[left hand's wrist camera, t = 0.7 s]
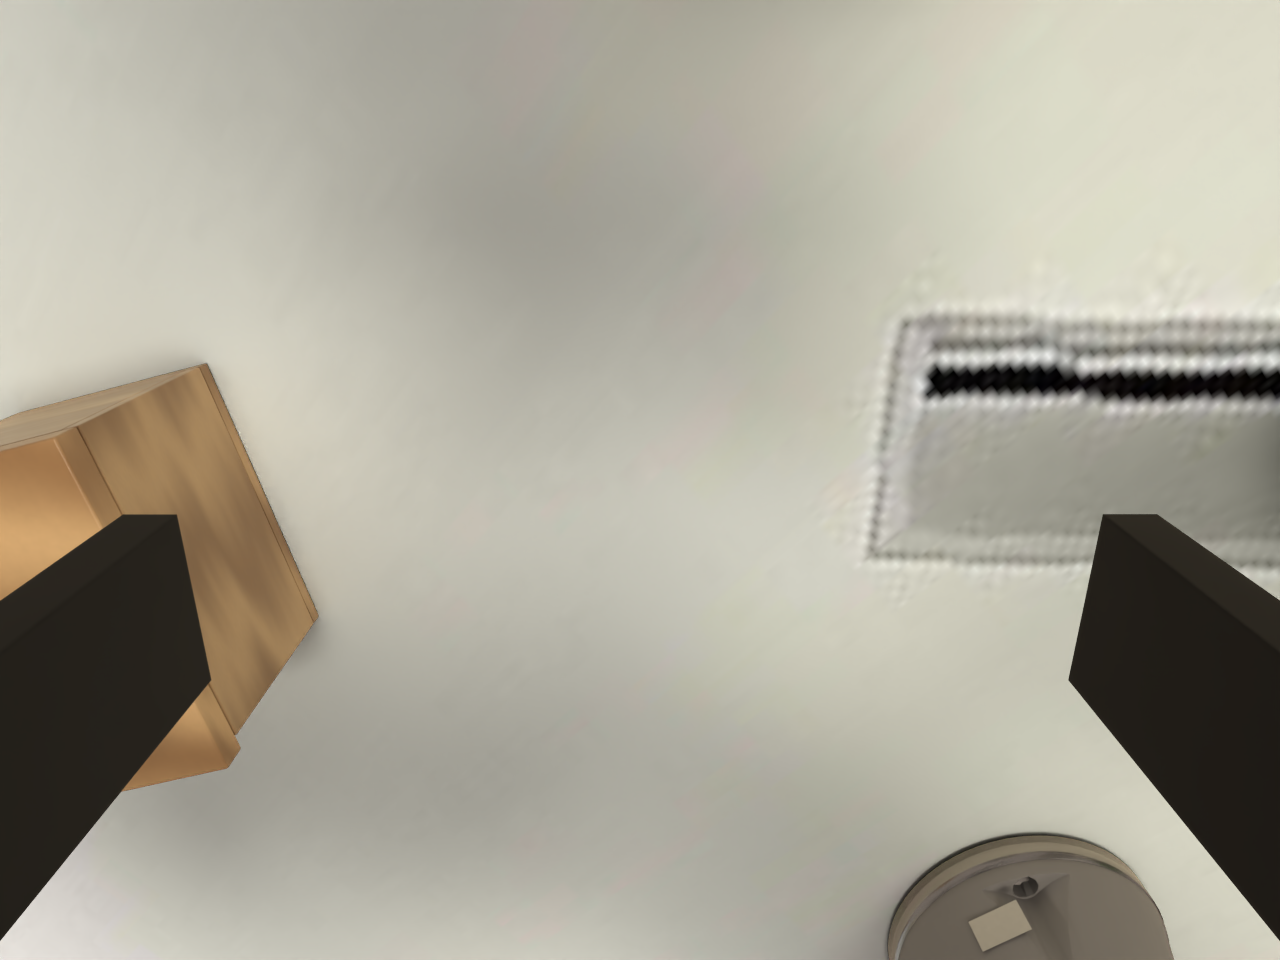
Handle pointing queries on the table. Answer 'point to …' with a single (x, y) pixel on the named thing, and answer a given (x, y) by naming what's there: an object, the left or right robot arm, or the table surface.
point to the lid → (52, 527)
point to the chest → (197, 517)
